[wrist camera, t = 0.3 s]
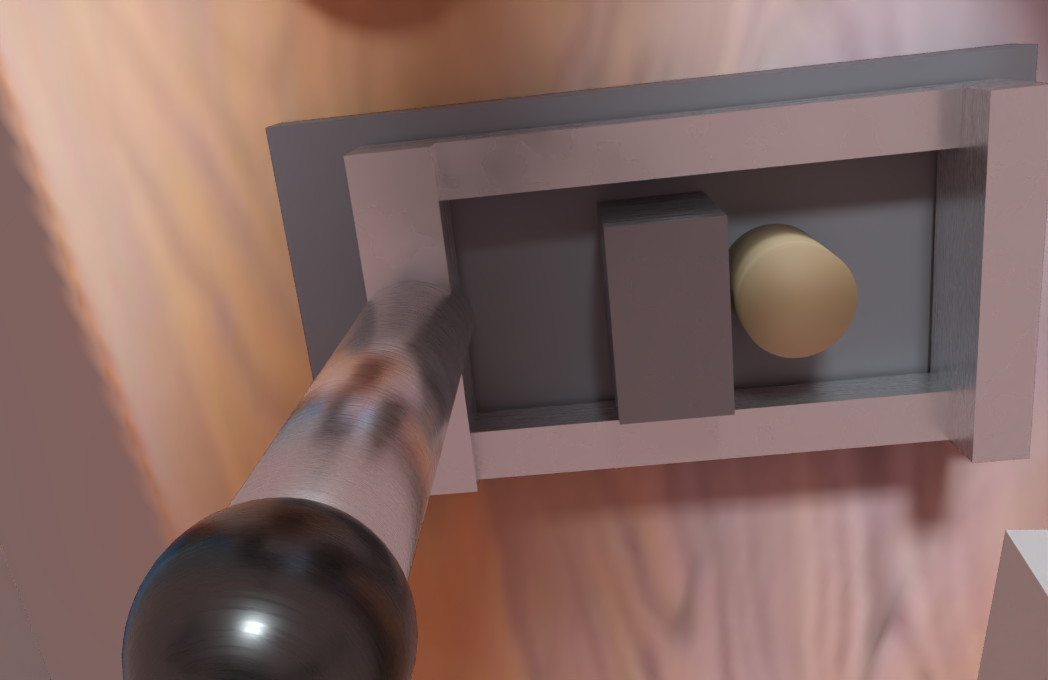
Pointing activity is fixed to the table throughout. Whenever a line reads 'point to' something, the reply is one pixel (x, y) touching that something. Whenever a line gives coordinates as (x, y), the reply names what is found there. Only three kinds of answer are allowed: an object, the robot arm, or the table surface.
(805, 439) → the press ram
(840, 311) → the nut
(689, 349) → the grey rectangular block
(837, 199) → the press bench
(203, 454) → the table surface
